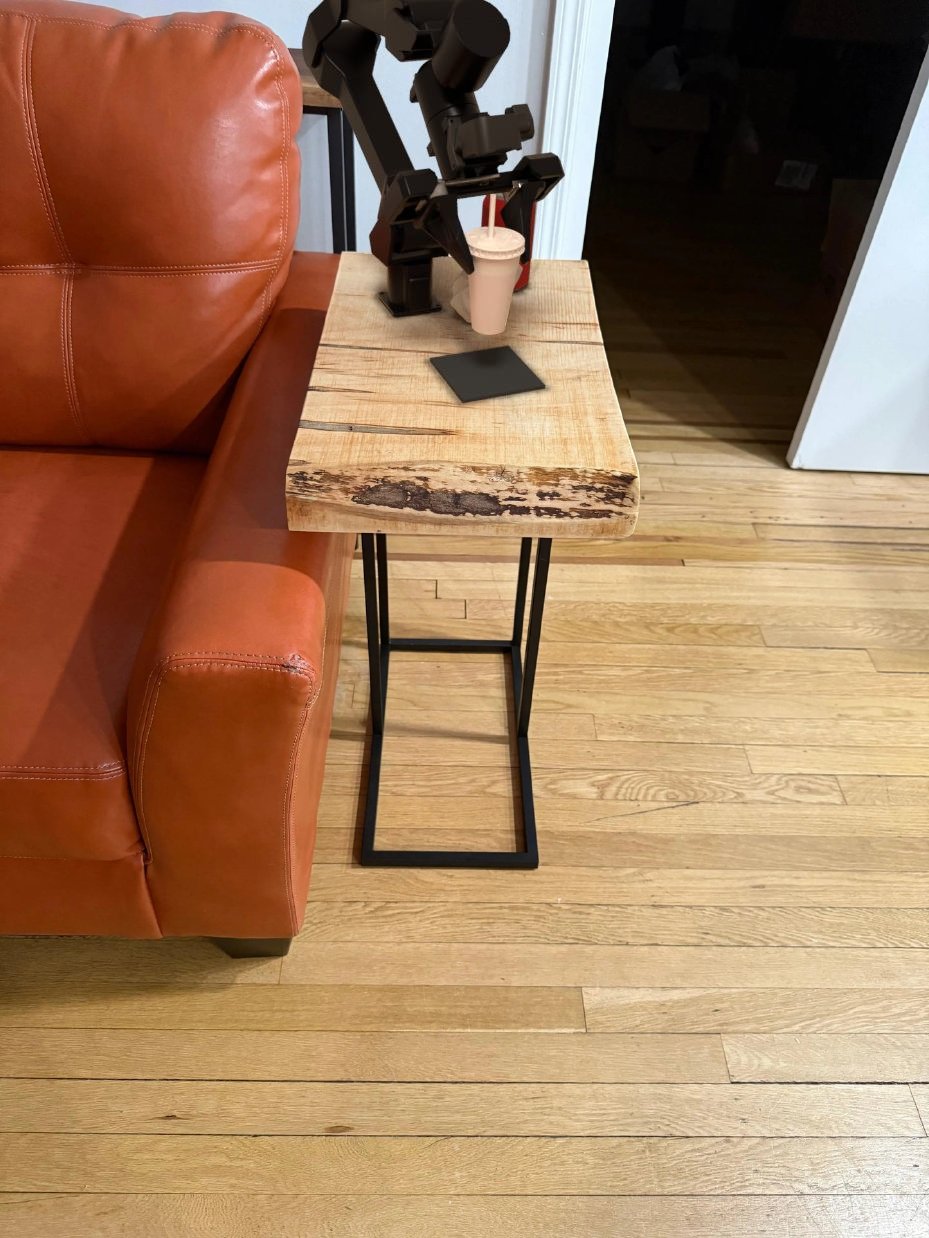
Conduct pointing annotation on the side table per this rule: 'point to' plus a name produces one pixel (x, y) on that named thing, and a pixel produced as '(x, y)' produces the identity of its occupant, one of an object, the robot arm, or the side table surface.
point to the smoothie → (492, 273)
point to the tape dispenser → (467, 294)
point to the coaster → (486, 373)
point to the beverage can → (499, 223)
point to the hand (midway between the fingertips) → (499, 268)
